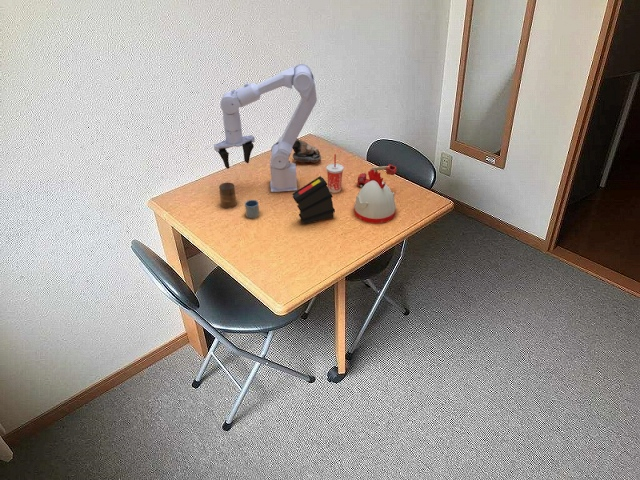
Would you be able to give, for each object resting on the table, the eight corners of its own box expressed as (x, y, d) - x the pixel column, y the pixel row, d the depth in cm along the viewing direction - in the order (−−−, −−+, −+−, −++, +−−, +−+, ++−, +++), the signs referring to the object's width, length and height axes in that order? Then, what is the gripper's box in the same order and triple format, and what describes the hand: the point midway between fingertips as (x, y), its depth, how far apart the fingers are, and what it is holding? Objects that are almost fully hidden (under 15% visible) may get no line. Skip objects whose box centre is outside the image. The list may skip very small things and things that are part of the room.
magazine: (343, 212, 161) (325, 180, 151) (309, 234, 161) (289, 202, 151) (339, 207, 164) (321, 174, 154) (306, 228, 164) (286, 196, 154)
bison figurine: (320, 157, 198) (320, 134, 192) (321, 165, 193) (321, 141, 187) (291, 158, 198) (290, 135, 192) (291, 166, 192) (290, 142, 186)
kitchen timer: (378, 197, 172) (381, 159, 164) (403, 214, 163) (408, 175, 154) (346, 208, 166) (347, 169, 158) (370, 227, 157) (373, 186, 148)
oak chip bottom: (236, 200, 171) (235, 194, 170) (236, 207, 167) (235, 201, 166) (221, 201, 171) (220, 195, 169) (221, 208, 167) (220, 202, 165)
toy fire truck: (358, 182, 181) (360, 159, 176) (394, 189, 177) (397, 165, 172) (356, 186, 179) (357, 162, 173) (392, 193, 175) (394, 169, 169)
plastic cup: (259, 210, 165) (258, 199, 163) (259, 217, 162) (258, 206, 159) (246, 211, 165) (244, 200, 162) (246, 218, 161) (245, 207, 159)
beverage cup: (334, 195, 174) (334, 160, 166) (322, 189, 177) (322, 154, 169) (346, 190, 177) (347, 154, 169) (335, 183, 181) (335, 149, 173)
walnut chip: (235, 188, 169) (234, 182, 167) (235, 195, 164) (234, 189, 163) (220, 189, 168) (219, 183, 167) (219, 196, 164) (218, 190, 162)
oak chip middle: (231, 193, 171) (230, 187, 169) (238, 199, 167) (237, 193, 166) (217, 197, 168) (217, 191, 167) (225, 203, 165) (224, 197, 163)
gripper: (218, 137, 159) (223, 174, 167) (257, 127, 166) (260, 163, 173) (209, 130, 164) (214, 166, 172) (248, 121, 170) (251, 156, 178)
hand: (237, 164), depth 173 cm, fingers open, 7 cm apart
